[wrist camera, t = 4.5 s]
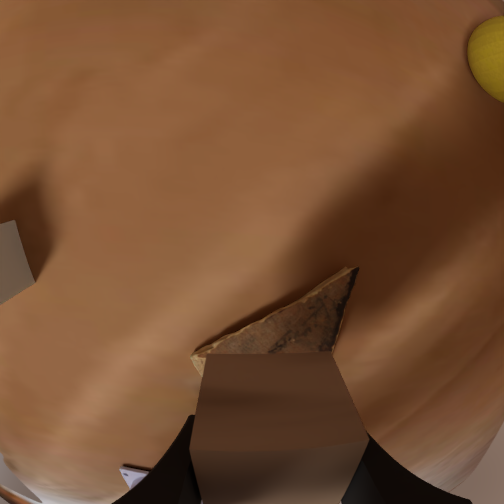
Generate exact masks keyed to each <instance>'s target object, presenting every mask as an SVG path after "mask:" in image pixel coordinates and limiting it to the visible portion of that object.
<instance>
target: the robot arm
mask: <svg viewBox="0 0 504 504" xmlns="http://www.w3.org/2000/svg"><path fill="white" fill-rule="evenodd" d="M194 419H195V415H190V416H188V418H187V420H186V422H185V424H184V426H183V428H182V429H181V431H180V433H179V434H178V436H177V437H176V439H175V440H174V442H173V443H172V445H171V446H170V447H169V449H168V450H167V452H166V453H165V454H164V456H163V457H162V458H161V459H160V460H159V462H158V463H157V464H156V465H155V466H154V468H153V469H152V470H151V471H150V472H149V471H143V470H138V469H133V468H128V467H123V466H122V467H120V472H121V474H122V476H123V477H124V479H125V481H126V483H127V484H128V486H129V488H130V490H129V491H128V492H127V493H126V494H125V495H123V496H122V497H121V498H119V499H118V500H116V501H115V502H113V503H112V504H203V502H202V498H201V495H200V491H199V487H198V483H197V479H196V476H195V472H194V467H193V463H192V459H191V455H190V450H189V448H190V442H191V436H192V431H193V425H194ZM366 433H367V431H366ZM367 435H368V438H369V442H368V444H367V447H366V449H365V451H364V454H363V456H362V458H361V460H360V463H359V465H358V467H357V469H356V471H355V473H354V476H353V478H352V480H351V482H350V484H349V486H348V488H347V490H346V492H345V494H344V496H343V497H342V499H341V503H342V504H472V502H471V501H470V500H469V499H465V498H462V497H459V496H456V495H453V494H450V493H448V492H446V491H443V490H441V489H439V488H437V487H435V486H433V485H431V484H429V483H427V482H426V481H424V480H422V479H420V478H419V477H417V476H416V475H414V474H413V473H411V472H410V471H408V470H407V469H406V468H404V467H403V466H402V465H400V464H399V463H398V462H397V461H396V460H394V459H393V458H392V457H391V456H390V455H389V454H388V453H387V452H386V451H385V450H384V449H383V448H382V447H381V446H380V445H379V444H378V443H377V442H376V441H375V440H374V439H373V438H372V437H371V436H370V435H369V434H368V433H367Z"/></svg>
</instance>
